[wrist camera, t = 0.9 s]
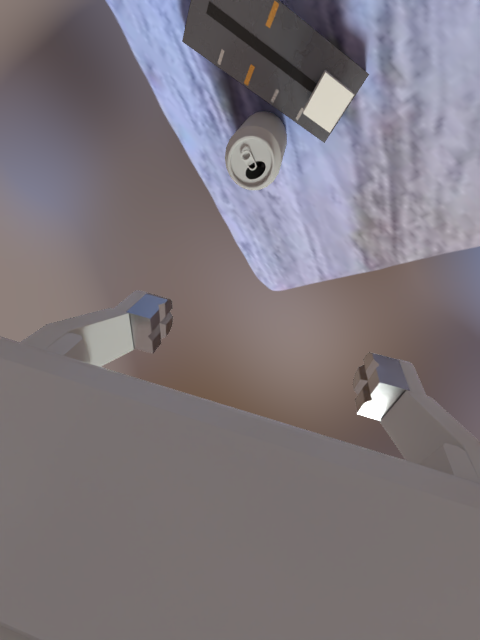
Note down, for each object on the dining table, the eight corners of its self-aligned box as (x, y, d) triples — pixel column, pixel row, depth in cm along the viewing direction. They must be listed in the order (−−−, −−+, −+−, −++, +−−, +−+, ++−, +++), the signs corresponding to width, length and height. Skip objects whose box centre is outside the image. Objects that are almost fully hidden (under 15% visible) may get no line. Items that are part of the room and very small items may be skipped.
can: (255, 175, 45) (242, 205, 37) (230, 130, 41) (210, 153, 33) (295, 149, 41) (290, 176, 33) (272, 96, 37) (260, 113, 29)
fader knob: (324, 68, 31) (325, 72, 28) (350, 89, 32) (354, 94, 29) (304, 106, 34) (302, 113, 31) (328, 123, 35) (329, 132, 32)
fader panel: (211, -54, 29) (203, -62, 26) (365, 72, 33) (369, 74, 31) (190, 41, 34) (182, 41, 32) (324, 137, 39) (324, 142, 37)
